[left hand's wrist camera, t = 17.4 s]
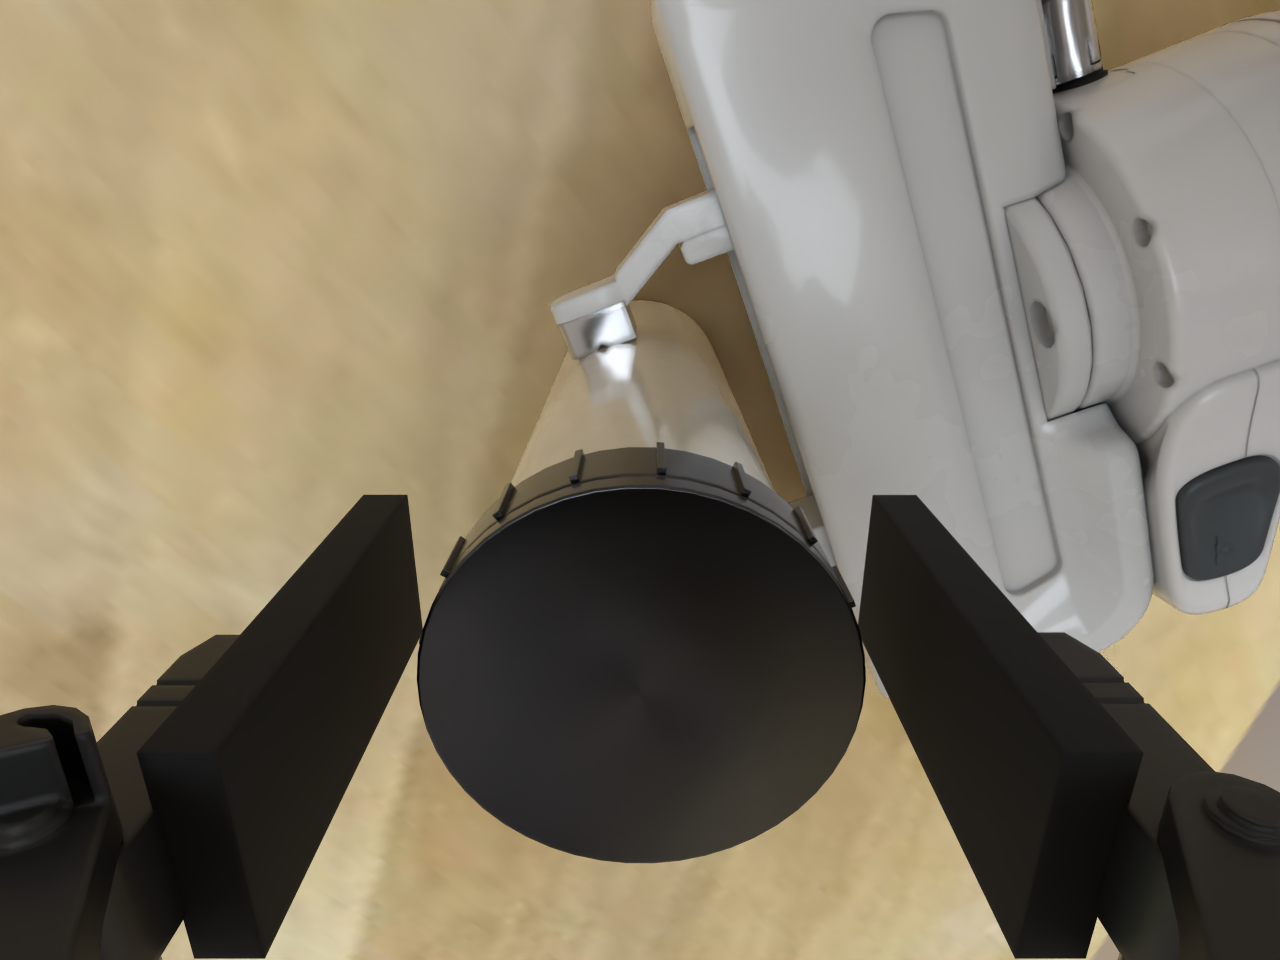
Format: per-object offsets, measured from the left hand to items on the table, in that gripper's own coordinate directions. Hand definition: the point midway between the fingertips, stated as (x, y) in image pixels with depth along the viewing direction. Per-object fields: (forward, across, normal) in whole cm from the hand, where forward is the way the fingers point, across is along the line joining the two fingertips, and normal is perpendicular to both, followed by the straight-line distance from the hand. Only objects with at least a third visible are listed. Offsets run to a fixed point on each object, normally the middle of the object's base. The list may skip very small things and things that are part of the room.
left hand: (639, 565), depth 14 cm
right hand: (+8, -1, 0) cm, 8 cm away
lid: (-3, 0, 0) cm, 3 cm away
